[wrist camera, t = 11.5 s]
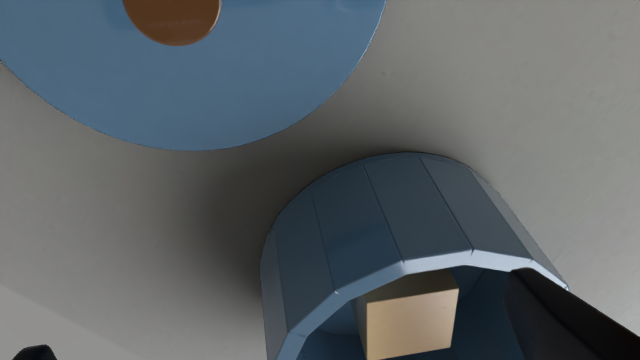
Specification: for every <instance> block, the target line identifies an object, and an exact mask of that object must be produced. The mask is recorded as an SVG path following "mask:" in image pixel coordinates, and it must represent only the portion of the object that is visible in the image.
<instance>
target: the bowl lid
mask: <svg viewBox="0 0 640 360" xmlns="http://www.w3.org/2000/svg"><path fill="white" fill-rule="evenodd" d="M386 1H387V0H0V60H1V61H2V62H3V63H4V65H5V66H6V67H7V68H8V69H9V70H10V71H11V72H12V73H14V74H15V75H16V76H17V77H18V78H19V79H20V80H21V81H22V82H23V83H24V84H25V85H26V86H27V87H28V88H30V89H31V90H32V91H33V92H35V93H36V94H37V95H39V96H40V97H41V98H43V99H44V100H45V101H46V102H48V103H49V104H50V105H52V106H53V107H55V108H57V109H58V110H60V111H61V112H63V113H65V114H66V115H68V116H69V117H71V118H73V119H74V120H76V121H78V122H80V123H82V124H84V125H86V126H89V127H91V128H93V129H95V130H97V131H99V132H101V133H104V134H107V135H110V136H112V137H115V138H118V139H120V140H123V141H127V142H131V143H135V144H139V145H143V146H147V147H153V148H160V149H167V150H179V151H205V150H218V149H224V148H230V147H235V146H240V145H244V144H248V143H251V142H254V141H257V140H261V139H264V138H266V137H268V136H271V135H273V134H275V133H278V132H280V131H282V130H284V129H286V128H288V127H290V126H291V125H293V124H295V123H296V122H298V121H300V120H301V119H303V118H305V117H306V116H307V115H309V114H310V113H311V112H313V111H314V110H315V109H317V108H318V107H319V106H321V105H322V104H323V103H324V102H325V101H326V100H327V99H328V98H329V97H330V96H331V95H332V94H333V93H334V92H335V91H336V90H338V89H339V88H340V86H341V85H342V84H343V83H344V81H345V80H346V79H347V78H348V76H349V75H350V74H351V73H352V72H353V70H354V69H355V67H356V66H357V64H358V63H359V61H360V60H361V58H362V56H363V55H364V53H365V52H366V50H367V48H368V46H369V44H370V42H371V40H372V38H373V36H374V34H375V32H376V29H377V27H378V25H379V22H380V19H381V16H382V13H383V10H384V7H385V4H386Z"/></svg>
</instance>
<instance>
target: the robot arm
mask: <svg viewBox="0 0 640 360" xmlns="http://www.w3.org/2000/svg"><path fill="white" fill-rule="evenodd" d="M503 304H504V308H505V311H506V313H507V316H508V318H509V321H510V323H511V326H512V328H513V331H514V333H515V336H516V338H517V341H518V343H519V346H520V349H521V351H522V354H523V356H524V359H525V360H640V337H639V336H637V335H636V334H634V333H633V332H631V331H630V330H628V329H627V328H625V327H624V326H622V325H620V324H619V323H617V322H616V321H614V320H613V319H611V318H610V317H608V316H606V315H605V314H603V313H602V312H600V311H599V310H597V309H596V308H594V307H592V306H591V305H589V304H588V303H586V302H585V301H583V300H582V299H580V298H578V297H577V296H575V295H574V294H572V293H571V292H569V291H568V290H566V289H564V288H563V287H561V286H560V285H558V284H557V283H555V282H554V281H552V280H551V279H549V278H547V277H546V276H544V275H543V274H541V273H540V272H538V271H537V270H535V269H533V268H531V267H524V268H518V269H513V270H511V271H510V272H509V274H508V278H507V282H506V286H505V290H504V294H503ZM12 360H57V359H56V357H55V355H54V353H53V352H52V350H51V348H50V347H49V346H47V345H38V346H31V347H27V348H24V349H22V350H21V351H20V352H19V353H18V354H17V355H16V356H15V357H14V358H13V359H12Z"/></svg>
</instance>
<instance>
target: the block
mask: <svg viewBox="0 0 640 360" xmlns="http://www.w3.org/2000/svg"><path fill="white" fill-rule="evenodd" d="M458 292H459V287H458V285H457V283H456V281H455V279H454V277H453V276H452V274H451V272H450V270H449V268H445V269H439V270H433V271H426V272H420V273H414V274H407V275H405V276H403V277H400V278H398V279H396V280H394V281H392V282H389V283H387V284H385V285H383V286H381V287H378V288H376V289H374V290H372V291H369V292H367V293H365V294H363V295H361V296H358V297H356V298H354V299H352V300H350V302H351V306H352V309H353V313H354V317H355V320H356V324H357V328H358V331H359V335H360V339H361V343H362V346H363V350H364V354H365V357H366V360H380V359H386V358H392V357H397V356H403V355H409V354H415V353H421V352H426V351H432V350H438V349H444V348H449V347H450V346H451V339H452V333H453V326H454V319H455V312H456V306H457V299H458Z"/></svg>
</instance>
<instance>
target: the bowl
mask: <svg viewBox="0 0 640 360" xmlns="http://www.w3.org/2000/svg"><path fill="white" fill-rule="evenodd" d="M524 267H531V268H533V269H535V270H537V271H538V272H540V273H541V274H543V275H544V276H546V277H547V278H549V279H551V280H552V281H554V282H555V283H557V284H558V285H560V286H561V287H563V288H564V289H566V290H568V291H569V287H568V285H567V283H566V282H565V280H564V279H563V278H562V276H561V275H560V274H559V272H558V271H557V270H556V268H555V267H554V266H553V264H552V263H551V262H550V260H549V259H548V258H547V256H546V255H545V254H544V252H543V251H542V250H541V248H540V247H539V246H538V244H537V243H536V242H535V240H534V239H533V238H532V236H531V235H530V234H529V232H528V231H527V230H526V228H525V227H524V226H523V224H522V223H521V222H520V220H519V219H518V218H517V216H516V215H515V214H514V212H513V211H512V210H511V208H510V207H509V206H508V204H507V203H506V202H505V200H504V199H503V198H502V196H501V195H500V194H499V193H498V192H497V191H496V190H495V189H494V188H492V187H491V186H490V185H489V183H488V182H487V181H486V180H485V179H484V178H483V177H482V176H480V175H479V174H478V173H477V172H475V171H474V170H472V169H471V168H469V167H468V166H466V165H463V164H461V163H459V162H457V161H455V160H452V159H449V158H445V157H442V156H439V155H433V154H427V153H413V152H402V153H389V154H383V155H377V156H372V157H368V158H364V159H361V160H358V161H355V162H351V163H349V164H347V165H344V166H342V167H340V168H337V169H335V170H333V171H331V172H329V173H327V174H326V175H324V176H322V177H320V178H319V179H317V180H316V181H314V182H313V183H311V184H310V185H309V186H307V187H306V188H304V189H303V190H302V191H301V192H300V193H299V194H298V195H297V196H295V197H294V198H293V199H292V200H291V201H290V202H289V203H288V205H287V206H286V207H285V208H284V209H283V210H282V212H281V213H280V214H279V216H278V217H277V219H276V220H275V222H274V223H273V225H272V227H271V229H270V231H269V233H268V235H267V238H266V240H265V243H264V247H263V251H262V257H261V262H260V266H259V270H260V281H261V293H262V305H263V316H264V328H265V340H266V351H267V360H366V357H365V354H364V350H363V346H362V343H361V339H360V335H359V331H358V328H357V324H356V320H355V317H354V313H353V309H352V306H351V302H350V300H352V299H354V298H356V297H358V296H361V295H363V294H365V293H367V292H369V291H372V290H374V289H376V288H378V287H381V286H383V285H385V284H387V283H389V282H392V281H394V280H396V279H398V278H400V277H403V276H405V275H407V274H414V273H420V272H426V271H433V270H439V269H445V268H449V270H450V272H451V274H452V276H453V277H454V279H455V281H456V283H457V285H458V287H459V292H458V299H457V306H456V312H455V319H454V326H453V333H452V339H451V346H450V347H449V348H444V349H438V350H432V351H426V352H421V353H415V354H409V355H403V356H397V357H392V358H386V359H380V360H525V359H524V356H523V354H522V351H521V349H520V346H519V343H518V341H517V338H516V336H515V333H514V331H513V328H512V326H511V323H510V321H509V318H508V316H507V313H506V311H505V308H504V304H503V294H504V290H505V286H506V282H507V278H508V274H509V272H510V271H511V270H513V269H518V268H524ZM569 292H570V291H569Z"/></svg>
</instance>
